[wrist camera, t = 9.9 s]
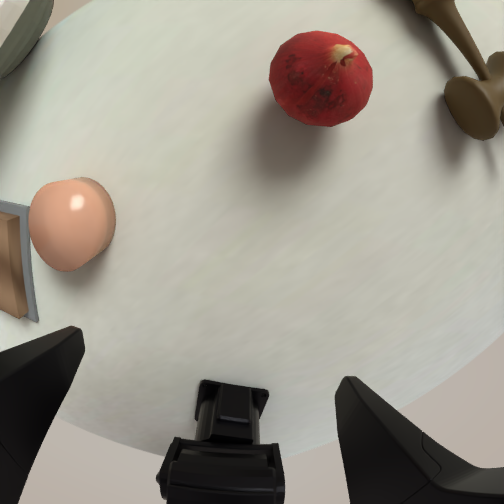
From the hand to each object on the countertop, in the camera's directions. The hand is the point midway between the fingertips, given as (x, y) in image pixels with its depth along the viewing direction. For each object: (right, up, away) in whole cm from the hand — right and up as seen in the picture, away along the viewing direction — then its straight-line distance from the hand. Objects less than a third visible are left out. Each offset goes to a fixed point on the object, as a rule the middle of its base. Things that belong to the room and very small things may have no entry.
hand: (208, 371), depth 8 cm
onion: (+5, +15, +9) cm, 18 cm away
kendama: (+19, +21, +7) cm, 29 cm away
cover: (-24, +3, +11) cm, 27 cm away
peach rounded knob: (-12, +6, +11) cm, 18 cm away
